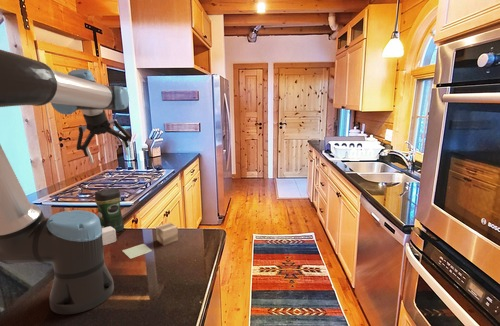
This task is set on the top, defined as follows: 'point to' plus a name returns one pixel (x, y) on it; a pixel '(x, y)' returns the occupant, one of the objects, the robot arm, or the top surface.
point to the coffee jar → (109, 208)
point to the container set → (108, 235)
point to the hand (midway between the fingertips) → (110, 157)
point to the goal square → (137, 251)
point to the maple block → (167, 234)
